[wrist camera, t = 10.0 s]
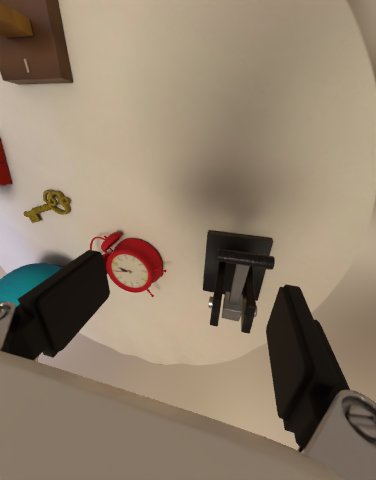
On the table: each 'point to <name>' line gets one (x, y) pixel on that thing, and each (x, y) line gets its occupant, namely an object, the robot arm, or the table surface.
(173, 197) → the table surface
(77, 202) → the table surface
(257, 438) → the robot arm
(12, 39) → the plate
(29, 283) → the decorative orb
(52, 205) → the key
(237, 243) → the black handle mount
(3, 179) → the toy robot
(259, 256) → the door lever
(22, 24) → the thumbturn
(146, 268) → the alarm clock
